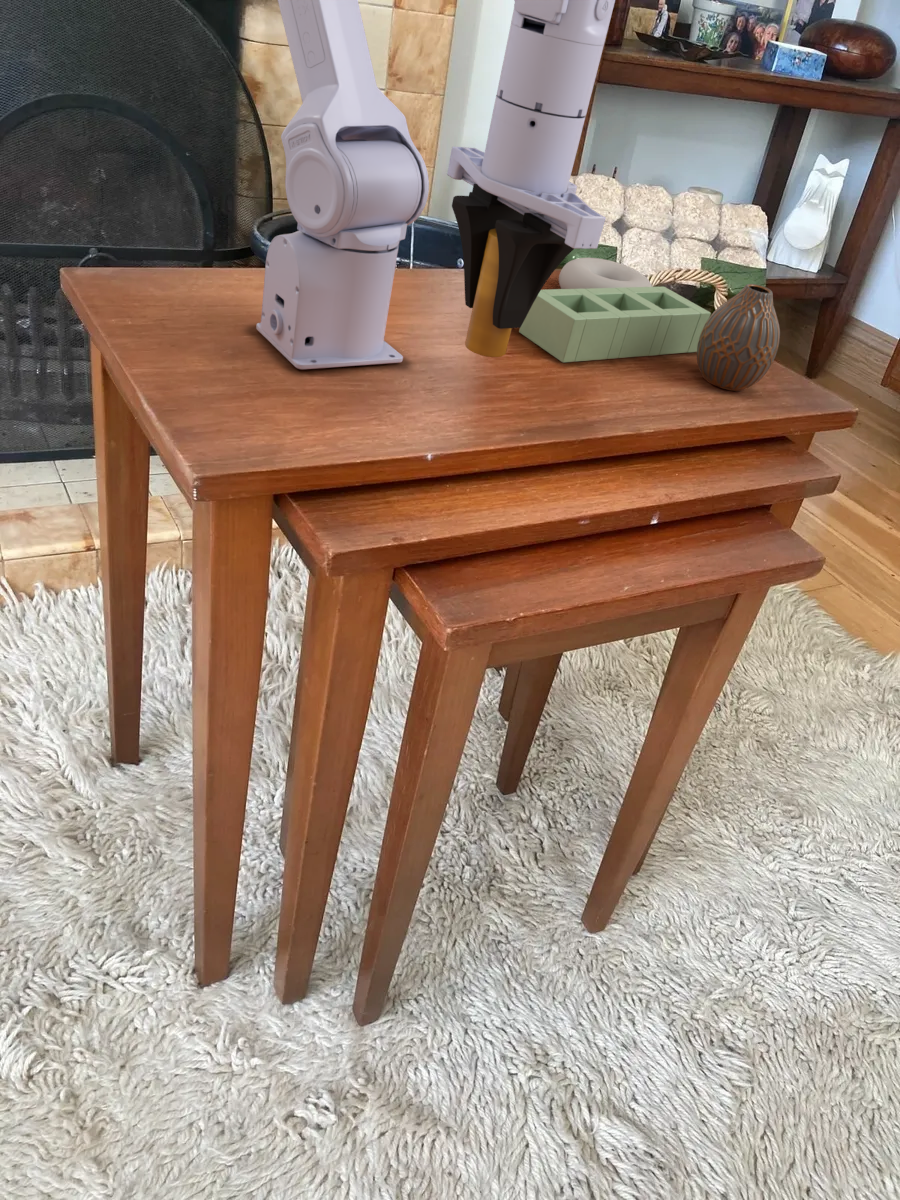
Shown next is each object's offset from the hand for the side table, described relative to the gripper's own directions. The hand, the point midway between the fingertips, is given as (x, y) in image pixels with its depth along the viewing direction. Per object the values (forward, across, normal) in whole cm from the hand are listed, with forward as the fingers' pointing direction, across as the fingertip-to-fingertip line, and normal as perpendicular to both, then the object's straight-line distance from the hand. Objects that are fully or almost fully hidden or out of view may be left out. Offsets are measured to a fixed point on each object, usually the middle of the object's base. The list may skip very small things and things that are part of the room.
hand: (493, 316), depth 68 cm
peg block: (+8, +11, -24) cm, 27 cm away
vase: (+8, +1, -30) cm, 31 cm away
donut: (+8, +20, -31) cm, 38 cm away
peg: (+2, 0, 0) cm, 2 cm away
